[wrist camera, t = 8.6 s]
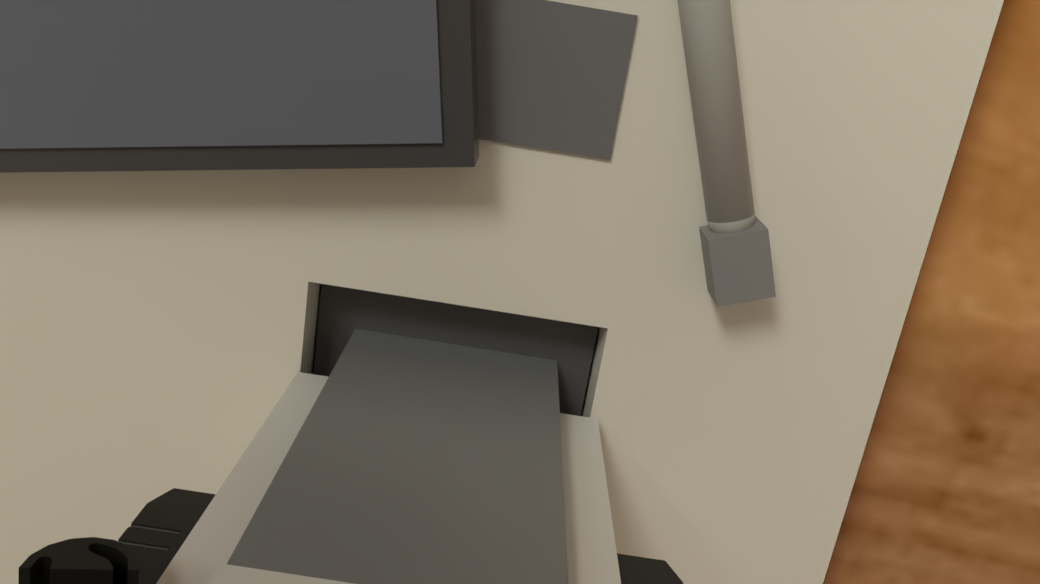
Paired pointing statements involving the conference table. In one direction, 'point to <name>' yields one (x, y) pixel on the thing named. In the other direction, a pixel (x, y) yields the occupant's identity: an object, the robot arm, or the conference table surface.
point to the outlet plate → (517, 277)
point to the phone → (237, 85)
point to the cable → (723, 159)
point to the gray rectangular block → (417, 474)
